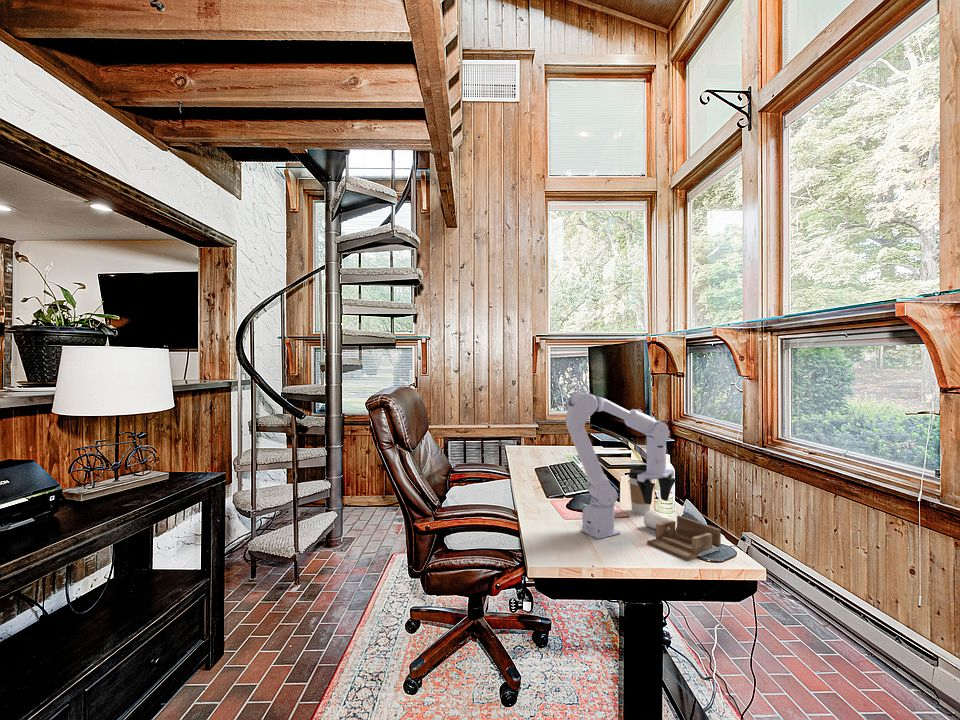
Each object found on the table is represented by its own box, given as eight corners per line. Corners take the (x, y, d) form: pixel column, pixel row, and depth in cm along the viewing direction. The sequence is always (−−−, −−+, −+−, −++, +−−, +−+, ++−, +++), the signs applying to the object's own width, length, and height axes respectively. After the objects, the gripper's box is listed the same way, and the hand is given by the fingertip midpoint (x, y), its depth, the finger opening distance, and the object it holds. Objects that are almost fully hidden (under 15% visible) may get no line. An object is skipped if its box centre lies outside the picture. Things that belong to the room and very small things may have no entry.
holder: (687, 560, 126) (688, 538, 126) (647, 543, 138) (647, 522, 138) (720, 550, 133) (720, 529, 133) (679, 535, 145) (679, 515, 145)
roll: (662, 530, 144) (668, 515, 146) (640, 522, 152) (646, 507, 153) (671, 537, 146) (677, 522, 148) (649, 528, 154) (655, 514, 155)
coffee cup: (649, 508, 171) (650, 467, 171) (656, 516, 162) (656, 472, 162) (626, 507, 172) (626, 466, 172) (631, 515, 163) (631, 472, 163)
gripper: (650, 463, 142) (650, 508, 142) (682, 458, 149) (682, 501, 149) (632, 459, 148) (632, 502, 148) (663, 454, 155) (663, 496, 155)
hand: (656, 501), depth 149 cm, fingers open, 7 cm apart
